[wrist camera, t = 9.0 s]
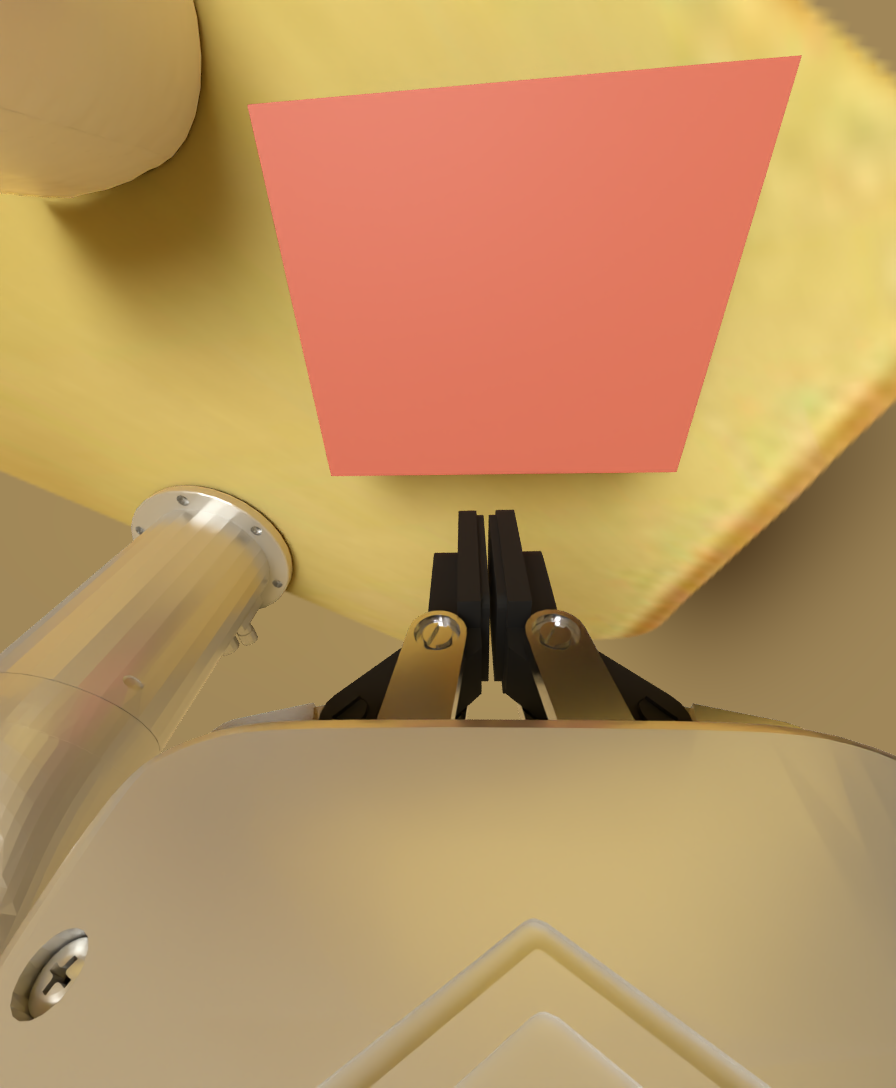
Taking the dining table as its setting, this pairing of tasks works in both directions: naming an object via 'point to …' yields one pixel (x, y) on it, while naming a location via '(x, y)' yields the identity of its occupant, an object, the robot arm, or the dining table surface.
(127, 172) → the toilet tissue
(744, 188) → the lid
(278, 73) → the dining table surface
